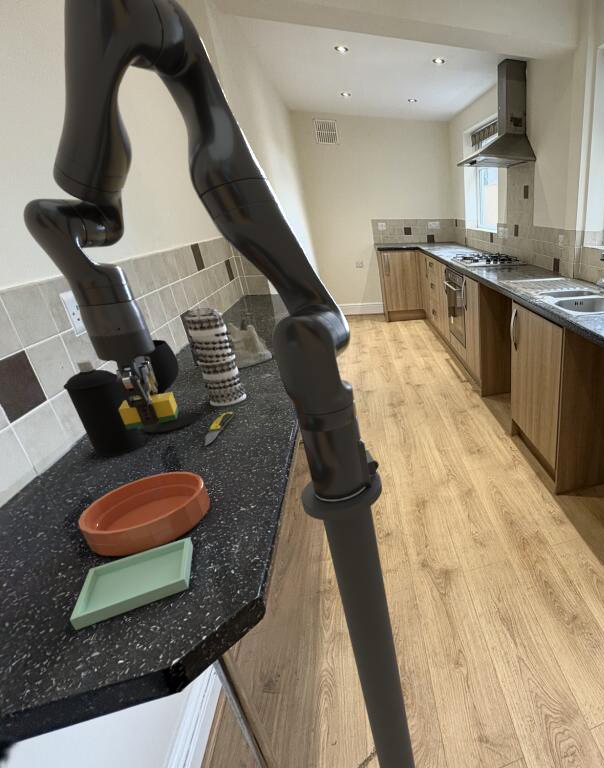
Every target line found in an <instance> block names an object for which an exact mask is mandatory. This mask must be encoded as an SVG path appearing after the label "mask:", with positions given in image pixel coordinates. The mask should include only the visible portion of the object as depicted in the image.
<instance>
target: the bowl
mask: <svg viewBox="0 0 604 768" xmlns="http://www.w3.org/2000/svg"><path fill="white" fill-rule="evenodd" d="M210 506H211V499H210V496H209V494H208V489H207V487H206V483H205V482H204V479H203V477H202V476H200V475H199V474H197V473H194V472H192V471H191V472H190V471H171V472H164V473H162V472H161V473H159V474H154V475H149V476H146V477H142V478H140V479H137V480H134V481H131V482H128V483H125V484H124V485H123V484H122V485H121V486H120V487H117V488H115V489H113V490H111V491H109V492H107V493H106V494H104V495H102V496H101V497H100V498H97V499H96V500H94V501H93V502H92V503H91V504H90V505H89V506H88V507H87V508H86V509H85V510H83V512H82V513H81V515H80V517H79V519H78V521H77V523H78V526H79V530H80V531H81V533H82V535H83V537H84V539H85V541H86V543H87V544H88V547H89V548H90V550H91V551H92V552H94V553H96V554H98V555H100V556H110V557H111V556H112V557H124V556H126V557H128V556H132V555H136V554H139V553H142V552H145V551H148V550H151V549H154V548H157V547H160V546H164V545H167V544H170V543H172V542H174V541H175V540H177V539H178V538H180V537H182V536H184V535H185V534H186V533H187V532H189V531H191V530H192V529H193V528H194V527H195V526H196V525H198V524H199V522H200V521H201V520H202V519H203V518H204V517H205V515H206V514H207V512H208V510H209V509H210Z"/></svg>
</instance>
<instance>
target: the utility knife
mask: <svg viewBox="0 0 604 768" xmlns="http://www.w3.org/2000/svg"><path fill="white" fill-rule="evenodd" d="M233 417H234V412H233V411H228V412H225V413H222V414H221V415H220V416H218V417H217V418H216V419H214V420H213V423H212V424H211V425H210V427H209V430H208V432H207V434H206V435H205V437H204V447H206V446H207V445H209V444H211V443H212V442H214V440H215V439H216V438H217V436H218V435H219V433H221V431H223V429H224V428H225V427H226V425H227V424H228V423H229V421H230V420H231V419H232V418H233Z"/></svg>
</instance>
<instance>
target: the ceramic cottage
mask: <svg viewBox="0 0 604 768" xmlns="http://www.w3.org/2000/svg"><path fill="white" fill-rule="evenodd" d="M227 324H228V327H227V330H228V331H230V332H231V333H230V334H229V335H227V337H228V338H231V339H232V341H231V342H229V343H230V344H233V345H234V346H233V347H232V349H231V348H230V349H231V350H232V351H234V352H235V358H234V361H235V364H236V366H237V369H242V368H247V367H250V366H253V365H254V366H255V365H257V364H259V363H263V362H266V361H268V360H269V361H270V360H271V359H272V358H273V356H272V353H271V351H270V350H268V348H267V345H266V343H267V341H266V340H264V339H263V338H262V337H260V336H259V335H258V334H257V331H256V330H255V327H254V325H253V324H249V325H247V326H246V330H240V328H239V327H236V325H234V323H232V322H228V323H227Z"/></svg>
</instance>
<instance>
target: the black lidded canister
mask: <svg viewBox="0 0 604 768" xmlns="http://www.w3.org/2000/svg"><path fill="white" fill-rule="evenodd" d="M76 365H77V367H78V370H79V372H78V373H76V374H74V375H72V376H70V377H69V379H68V380H66V383H64V384H63V389H64V390H66V392H67V394H68V396H69V398H70V400H71V402H72V405H73V407H74V409H75V411H76V413H77V415H78V417H79V420H80V422H81V424H82V426H83V429H84V431H85V433H86V435H87V437H88V440H89V442H90V443H91V446H92V448H93V451H94V452H93V453H94V454H93V455H94V456H96V457H98V458H111V457H116V456H120V455H124V454H127V453H131V452H132V451H135V450H137V449H138V448H140V447H141V446H142V445H143V444H144V443H145V438H144V437H142V434H141V432H140V429H139V427H137V428H133V429H128V430H127V428H126V426H125V424H124V421H123V419H122V417H121V414H120V412H119V408H120V406H121V405H122V403H123V401H124V400H126V399H125V397H124V396H123V394H122V392H121V390H120V388H119V386H118V385H117V383H116V378H118V376H117V373H114V372H112V371H109V370H104V369H97V368H96V369H95V368H94V367H93V364H92V361H91V360H90V359H84V360H79V361H77V362H76Z"/></svg>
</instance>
